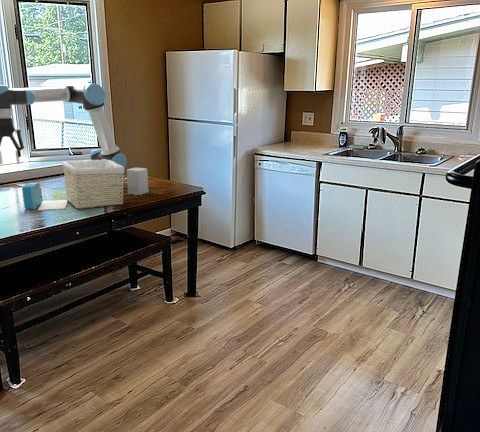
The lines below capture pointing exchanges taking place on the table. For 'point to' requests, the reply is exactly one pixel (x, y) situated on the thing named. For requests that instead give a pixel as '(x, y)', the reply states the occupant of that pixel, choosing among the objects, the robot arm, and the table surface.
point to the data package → (31, 195)
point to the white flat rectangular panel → (53, 205)
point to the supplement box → (137, 181)
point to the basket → (93, 183)
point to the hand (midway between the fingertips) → (9, 163)
